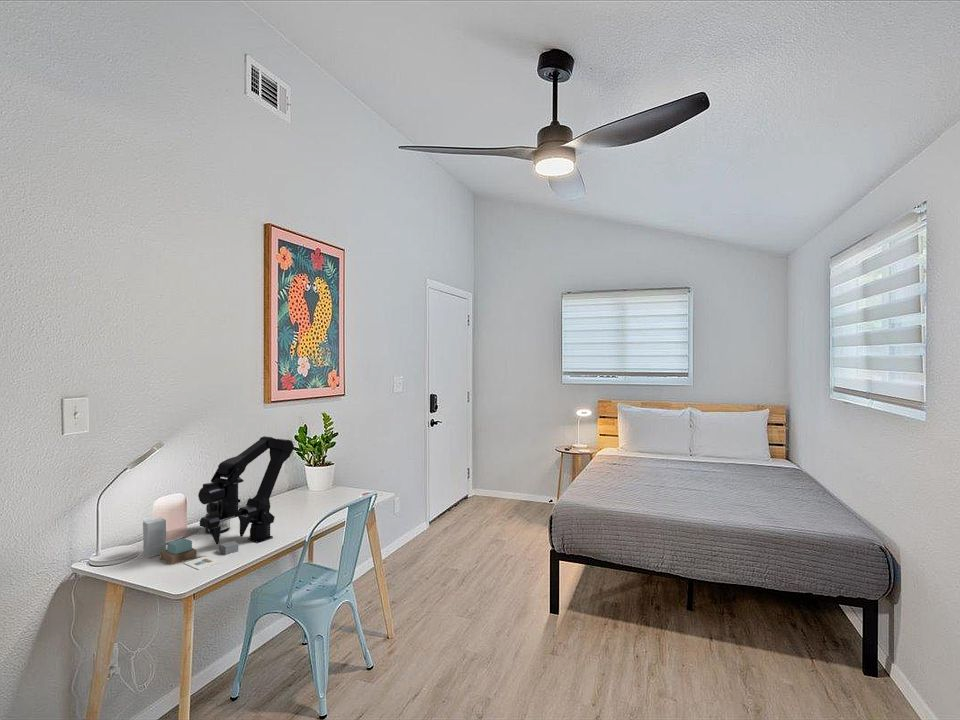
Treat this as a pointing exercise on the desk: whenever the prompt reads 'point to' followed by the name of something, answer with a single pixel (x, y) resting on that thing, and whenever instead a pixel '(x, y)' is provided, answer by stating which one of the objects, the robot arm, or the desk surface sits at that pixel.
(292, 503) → the desk surface
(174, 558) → the base block
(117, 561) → the desk surface
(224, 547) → the grey block
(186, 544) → the teal block
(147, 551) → the skincare box
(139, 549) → the desk surface
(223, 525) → the ink bottle
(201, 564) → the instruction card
